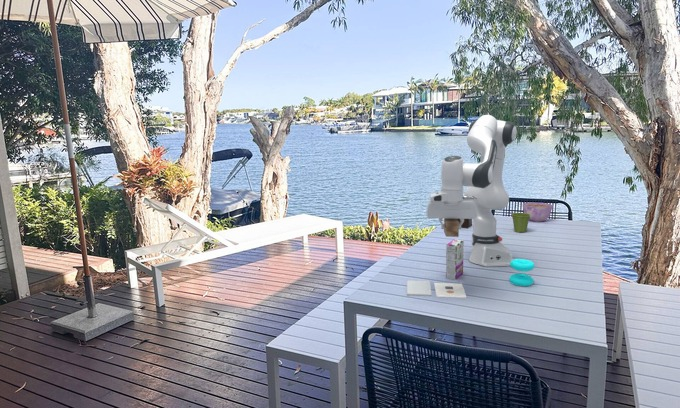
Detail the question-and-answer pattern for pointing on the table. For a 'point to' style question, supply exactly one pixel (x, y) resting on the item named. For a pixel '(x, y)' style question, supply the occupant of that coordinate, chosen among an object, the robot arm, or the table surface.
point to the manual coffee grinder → (466, 223)
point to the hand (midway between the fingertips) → (451, 228)
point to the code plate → (449, 290)
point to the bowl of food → (537, 210)
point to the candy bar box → (454, 259)
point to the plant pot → (520, 221)
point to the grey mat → (418, 288)
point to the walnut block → (451, 227)
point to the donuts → (519, 277)
